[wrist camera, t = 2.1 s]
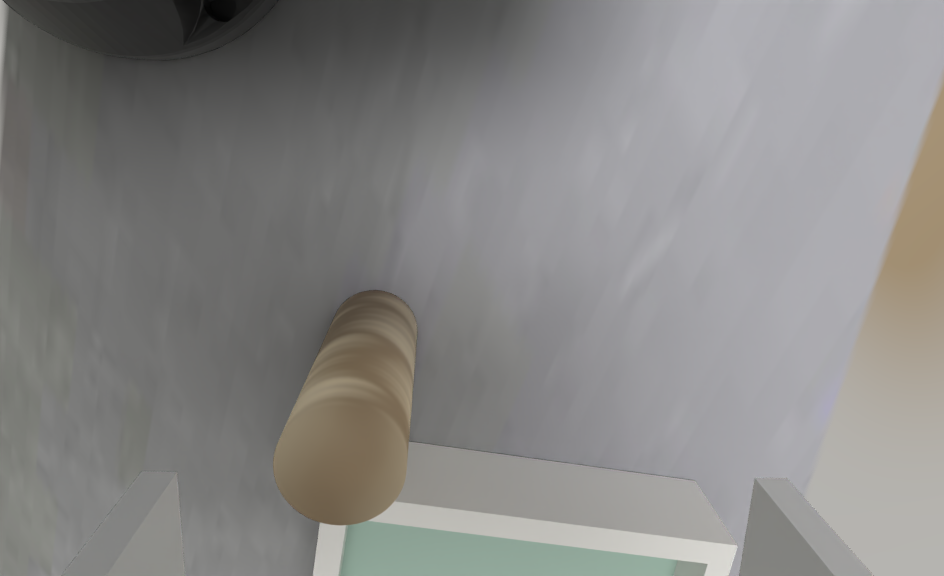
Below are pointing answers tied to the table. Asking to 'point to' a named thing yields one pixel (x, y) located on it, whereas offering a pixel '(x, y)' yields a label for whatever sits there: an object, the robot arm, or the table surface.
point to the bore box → (529, 522)
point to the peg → (352, 415)
